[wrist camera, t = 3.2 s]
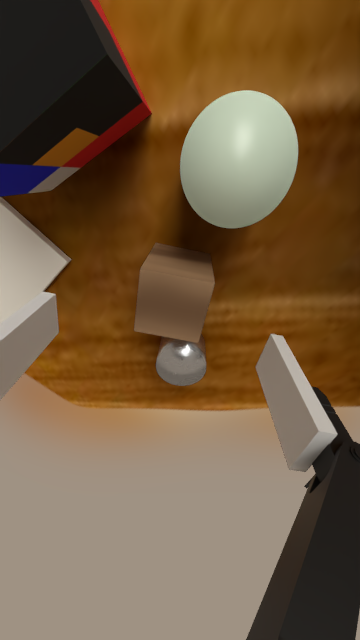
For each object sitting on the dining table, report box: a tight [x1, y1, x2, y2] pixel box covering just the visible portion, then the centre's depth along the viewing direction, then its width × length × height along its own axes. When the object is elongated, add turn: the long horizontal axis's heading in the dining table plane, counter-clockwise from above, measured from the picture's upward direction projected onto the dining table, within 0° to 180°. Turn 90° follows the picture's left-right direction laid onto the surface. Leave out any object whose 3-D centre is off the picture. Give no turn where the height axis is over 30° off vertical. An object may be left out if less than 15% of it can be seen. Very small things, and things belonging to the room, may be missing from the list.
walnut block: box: [134, 243, 215, 343], centre depth 20 cm, size 5×5×7 cm
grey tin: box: [156, 334, 206, 386], centre depth 26 cm, size 5×5×4 cm
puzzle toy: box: [0, 0, 152, 197], centre depth 12 cm, size 10×10×10 cm
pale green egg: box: [180, 90, 298, 228], centre depth 16 cm, size 6×6×7 cm
